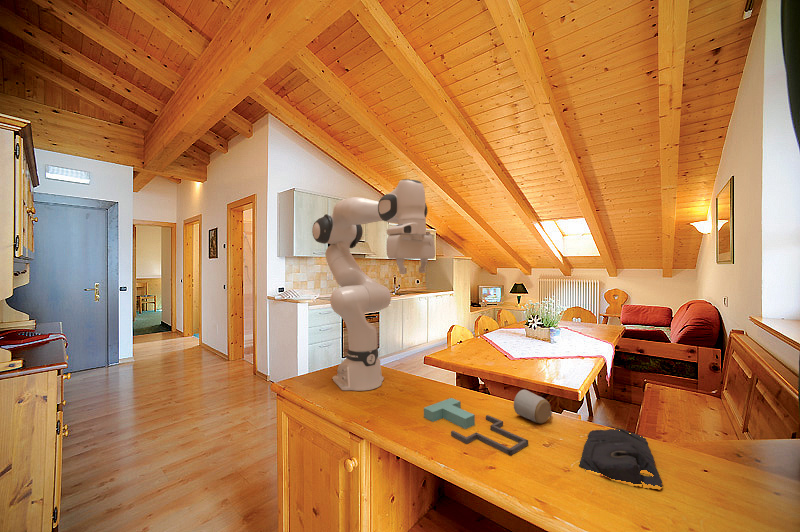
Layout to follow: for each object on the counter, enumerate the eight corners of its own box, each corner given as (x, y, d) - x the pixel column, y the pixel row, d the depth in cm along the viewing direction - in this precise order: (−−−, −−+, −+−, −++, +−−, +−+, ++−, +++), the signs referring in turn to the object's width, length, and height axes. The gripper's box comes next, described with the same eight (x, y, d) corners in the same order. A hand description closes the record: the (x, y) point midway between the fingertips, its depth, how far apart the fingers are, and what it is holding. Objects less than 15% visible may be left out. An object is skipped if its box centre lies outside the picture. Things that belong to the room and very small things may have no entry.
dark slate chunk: (657, 448, 84) (656, 429, 84) (663, 499, 66) (663, 474, 66) (587, 431, 93) (587, 414, 93) (576, 473, 75) (576, 451, 75)
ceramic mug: (536, 428, 95) (536, 400, 95) (513, 417, 102) (512, 391, 102) (559, 419, 100) (559, 393, 100) (535, 409, 107) (535, 385, 107)
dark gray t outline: (451, 435, 91) (450, 431, 91) (487, 418, 101) (487, 414, 101) (500, 461, 79) (500, 456, 79) (536, 439, 88) (536, 435, 88)
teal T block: (423, 417, 103) (423, 407, 103) (451, 406, 110) (451, 397, 110) (455, 433, 93) (455, 422, 93) (483, 421, 100) (483, 410, 100)
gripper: (424, 232, 118) (425, 272, 118) (382, 228, 103) (383, 274, 103) (439, 231, 114) (440, 272, 114) (397, 227, 99) (398, 274, 99)
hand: (412, 273), depth 108 cm, fingers open, 8 cm apart
